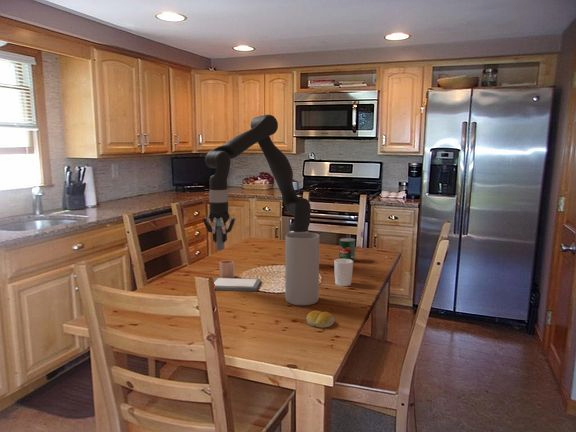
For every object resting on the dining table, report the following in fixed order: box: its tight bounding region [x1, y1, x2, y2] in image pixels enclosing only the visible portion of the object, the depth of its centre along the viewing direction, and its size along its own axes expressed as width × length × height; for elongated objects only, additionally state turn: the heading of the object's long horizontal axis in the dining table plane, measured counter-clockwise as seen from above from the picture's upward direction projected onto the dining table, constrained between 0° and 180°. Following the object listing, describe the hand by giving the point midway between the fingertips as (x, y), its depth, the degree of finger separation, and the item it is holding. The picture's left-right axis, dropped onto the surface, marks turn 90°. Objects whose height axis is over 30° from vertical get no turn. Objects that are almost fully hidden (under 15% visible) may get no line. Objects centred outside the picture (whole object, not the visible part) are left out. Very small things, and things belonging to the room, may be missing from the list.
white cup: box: [333, 258, 354, 287], centre depth 183 cm, size 8×8×10 cm
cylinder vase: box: [284, 231, 320, 307], centre depth 162 cm, size 12×12×25 cm
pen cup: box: [218, 259, 235, 278], centre depth 192 cm, size 6×6×7 cm
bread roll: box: [306, 310, 335, 329], centre depth 143 cm, size 8×9×4 cm
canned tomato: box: [338, 237, 356, 263], centre depth 221 cm, size 8×8×11 cm
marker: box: [215, 219, 225, 251], centre depth 178 cm, size 3×3×13 cm
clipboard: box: [213, 277, 262, 292], centre depth 181 cm, size 20×13×1 cm, turn 84°
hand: (219, 242), depth 179 cm, fingers closed on marker, 3 cm apart
